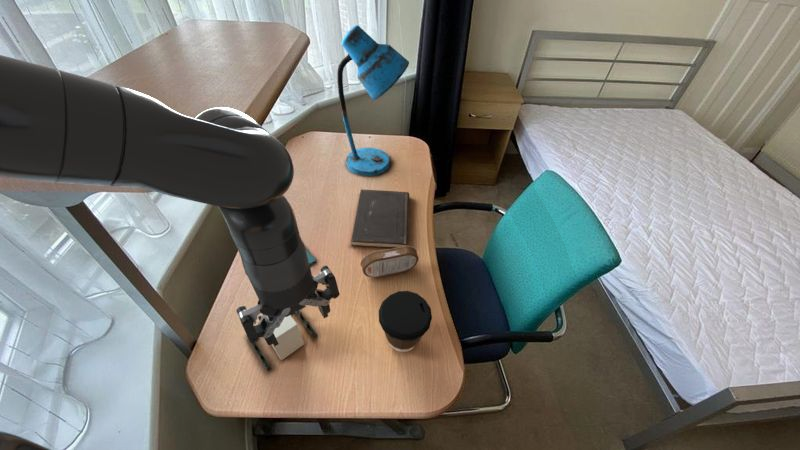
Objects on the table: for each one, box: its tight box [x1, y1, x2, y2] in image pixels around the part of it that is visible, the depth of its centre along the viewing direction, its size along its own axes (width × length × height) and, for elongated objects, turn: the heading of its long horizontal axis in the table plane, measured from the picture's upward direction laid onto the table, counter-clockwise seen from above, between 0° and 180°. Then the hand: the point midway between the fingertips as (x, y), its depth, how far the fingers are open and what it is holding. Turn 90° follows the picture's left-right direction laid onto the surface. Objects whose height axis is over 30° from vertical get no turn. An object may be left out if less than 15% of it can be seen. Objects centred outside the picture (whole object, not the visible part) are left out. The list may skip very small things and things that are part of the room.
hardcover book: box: [350, 188, 410, 249], centre depth 99 cm, size 16×23×2 cm
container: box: [271, 314, 305, 361], centre depth 68 cm, size 6×6×9 cm
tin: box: [360, 245, 419, 279], centre depth 83 cm, size 15×3×8 cm, turn 106°
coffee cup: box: [378, 290, 433, 353], centre depth 69 cm, size 11×11×12 cm
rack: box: [245, 310, 318, 372], centre depth 70 cm, size 12×10×6 cm
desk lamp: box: [336, 24, 410, 177], centre depth 105 cm, size 16×22×45 cm
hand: (300, 326), depth 53 cm, fingers open, 8 cm apart
